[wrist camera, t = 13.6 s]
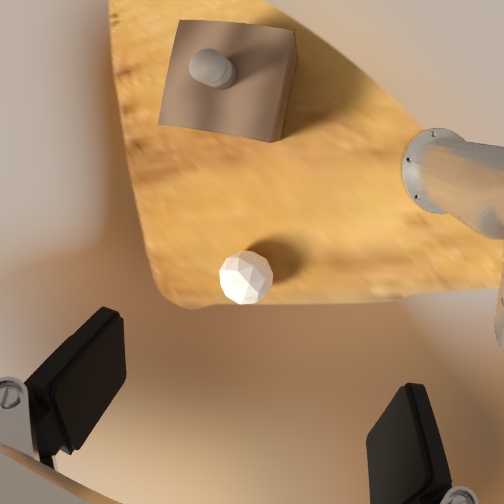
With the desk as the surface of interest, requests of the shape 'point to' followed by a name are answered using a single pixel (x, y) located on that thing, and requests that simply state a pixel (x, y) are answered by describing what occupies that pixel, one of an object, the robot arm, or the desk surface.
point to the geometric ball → (246, 277)
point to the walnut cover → (230, 79)
